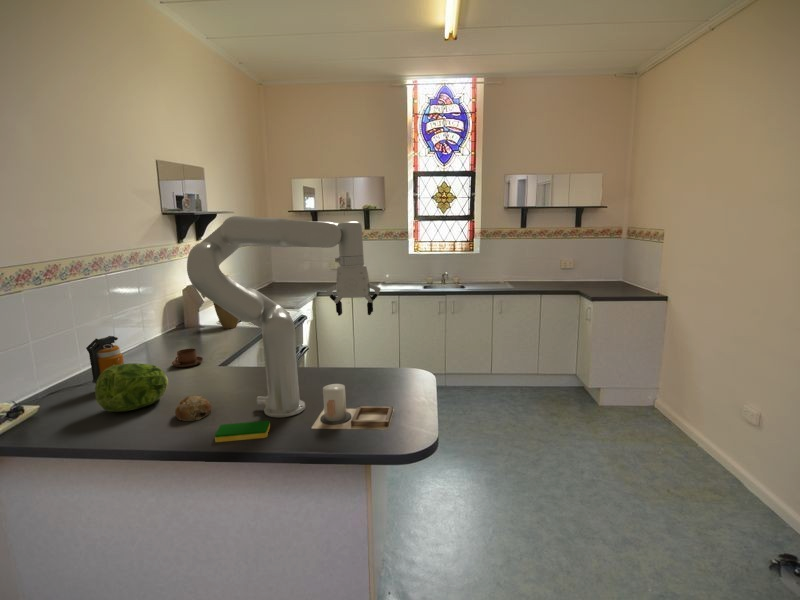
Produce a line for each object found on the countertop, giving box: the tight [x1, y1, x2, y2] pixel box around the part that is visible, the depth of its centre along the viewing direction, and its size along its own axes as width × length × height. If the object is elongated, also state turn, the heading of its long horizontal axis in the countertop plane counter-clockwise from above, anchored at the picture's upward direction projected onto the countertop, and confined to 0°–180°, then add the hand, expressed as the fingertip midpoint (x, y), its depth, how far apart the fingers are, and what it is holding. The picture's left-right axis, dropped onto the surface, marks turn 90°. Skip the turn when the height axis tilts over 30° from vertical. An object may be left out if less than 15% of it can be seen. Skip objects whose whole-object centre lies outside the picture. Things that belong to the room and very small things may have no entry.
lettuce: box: [94, 362, 169, 413], centre depth 156 cm, size 16×21×15 cm
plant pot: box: [212, 301, 240, 329], centre depth 269 cm, size 15×15×16 cm
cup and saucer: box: [171, 348, 204, 368], centre depth 201 cm, size 12×12×6 cm
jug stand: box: [310, 405, 395, 431], centre depth 139 cm, size 22×14×2 cm, turn 84°
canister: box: [85, 335, 125, 384], centre depth 171 cm, size 9×11×20 cm
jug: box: [322, 383, 347, 421], centre depth 137 cm, size 9×6×9 cm
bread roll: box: [175, 395, 212, 422], centre depth 147 cm, size 10×10×8 cm
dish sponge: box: [214, 420, 271, 443], centre depth 133 cm, size 7×14×2 cm, turn 97°
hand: (354, 314), depth 152 cm, fingers open, 9 cm apart
